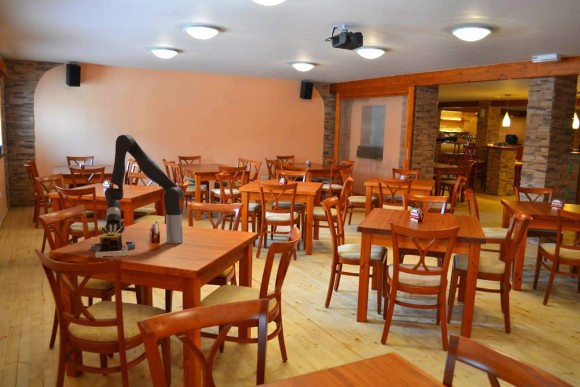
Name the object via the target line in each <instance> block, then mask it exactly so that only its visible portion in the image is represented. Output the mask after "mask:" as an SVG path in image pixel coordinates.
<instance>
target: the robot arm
mask: <svg viewBox="0 0 580 387" xmlns="http://www.w3.org/2000/svg"><path fill="white" fill-rule="evenodd" d="M114 147H115V148H114V163H113V169H112V172H111V177H110V178H111V179H110V183H111V184H112V185H114V186H117V188H116V187H109V186H108V187H107V188H106V189H105V191H104V198H105V200H106V204H107V206H106V207H107V208H106V224H105V226H104V227H101V232H102V234H104V233H122V234H123V232H124V231H125V230H126V228H125V226H122V224H121V202H120V201H122V200H123V198H124V186H123V185H124V179H125V175H126V157H127V153H128V154H129V155H130V156H131V157H133V159H134V160H135V162H136V164H137V166H138V168H139V169H140V171H141V172H142V173H143V174H144V175H145V176H146V178H148V179H149V180H150V181H152V182H153V183H155V184H157V185H158V186H159V187H161V188H162V189H163V190H164V193H163V194H164V195H163V201H164V202H163V203H164V204H163V205H164V211H165V225H166V226H165V227H166V228H165V229H166V238H165V239H166V244H167V243H168V244H171V245H174V244H177V245H178V244H181V243H183V240H184V239H183V210H182V208H181V206H180V202H181V201H182V200H183V198H184V191H183V190H182V188H181V187H180V186H179V185H177V184H176V183H175V182H174V181H173V180H172V179H171V178H170V177H169V176H168V175H167V174H166V173H165V171H163V169H161V167H160V166H159V164H157V163H156V161H154V160H153V159H152V157H151V156H150V155H148V154H147V152H145V150H144V149H143V148H142V147H141V145H139V143H138V142H137V141H136V140H135V138H134V137H133V136H131V135H128V134H121V135H118V136H117V137H116V139H115V146H114Z"/></svg>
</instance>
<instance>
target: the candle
mask: <svg viewBox="0 0 580 387" xmlns="http://www.w3.org/2000/svg"><path fill="white" fill-rule="evenodd" d="M122 235H123V233H114V232H113V233H110V232H108V233H102V235H101V236H100V237H99V243H100V252H109V251H123V238H122V237H123V236H122Z"/></svg>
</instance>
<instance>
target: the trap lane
mask: <svg viewBox="0 0 580 387" xmlns="http://www.w3.org/2000/svg"><path fill="white" fill-rule="evenodd" d="M124 246H125V247H124V250H122V251H109V252H100V242H95V243H92V244H91V247H90V250H91V252H95V258H104V257H103V256H113V257H127V256H126V255H128V254H129V250H135V249H136V241H135V240H134V241H133V240H131V241H130V240H127V241H125V245H124Z"/></svg>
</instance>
